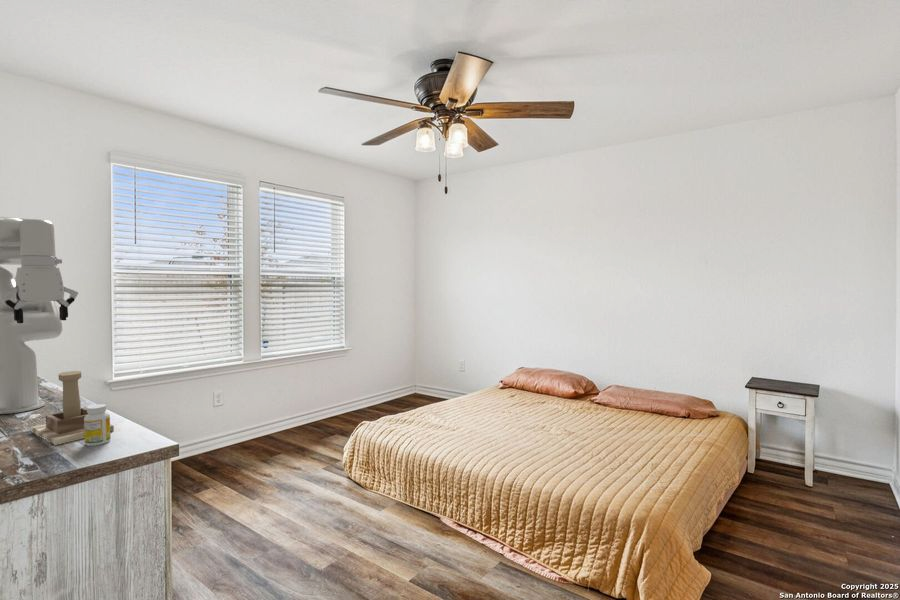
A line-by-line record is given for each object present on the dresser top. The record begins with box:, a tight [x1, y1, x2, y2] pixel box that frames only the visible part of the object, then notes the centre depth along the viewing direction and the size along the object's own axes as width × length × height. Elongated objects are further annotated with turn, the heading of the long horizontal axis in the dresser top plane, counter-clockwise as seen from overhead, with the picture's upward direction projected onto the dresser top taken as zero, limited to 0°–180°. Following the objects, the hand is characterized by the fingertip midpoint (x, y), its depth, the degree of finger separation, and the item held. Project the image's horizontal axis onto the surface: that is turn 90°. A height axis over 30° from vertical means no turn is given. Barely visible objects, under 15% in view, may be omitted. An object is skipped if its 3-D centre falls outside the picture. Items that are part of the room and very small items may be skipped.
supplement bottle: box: [84, 403, 111, 447], centre depth 119 cm, size 5×5×10 cm
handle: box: [58, 370, 82, 419], centre depth 127 cm, size 5×6×15 cm
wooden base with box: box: [31, 406, 115, 446], centre depth 127 cm, size 18×13×5 cm
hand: (42, 321), depth 133 cm, fingers open, 9 cm apart
